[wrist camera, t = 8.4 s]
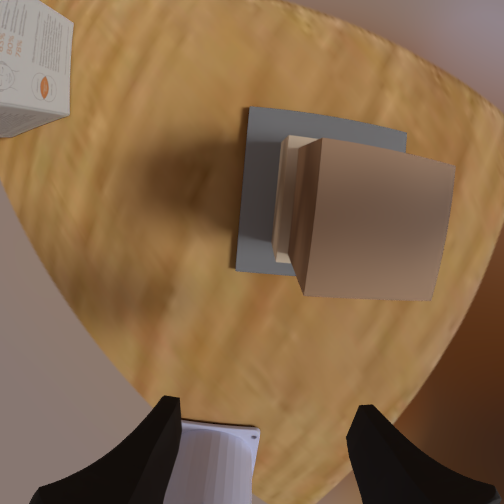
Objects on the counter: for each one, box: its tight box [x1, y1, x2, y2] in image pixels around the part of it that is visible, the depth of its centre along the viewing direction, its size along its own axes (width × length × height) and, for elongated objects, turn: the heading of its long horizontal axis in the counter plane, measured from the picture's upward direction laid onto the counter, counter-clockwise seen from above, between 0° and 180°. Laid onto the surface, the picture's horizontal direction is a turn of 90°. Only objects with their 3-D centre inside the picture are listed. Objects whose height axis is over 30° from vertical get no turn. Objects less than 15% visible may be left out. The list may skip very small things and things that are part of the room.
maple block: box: [271, 135, 318, 263], centre depth 16 cm, size 6×6×4 cm
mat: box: [236, 107, 407, 276], centre depth 18 cm, size 10×10×1 cm
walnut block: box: [288, 138, 456, 301], centre depth 12 cm, size 5×5×5 cm
